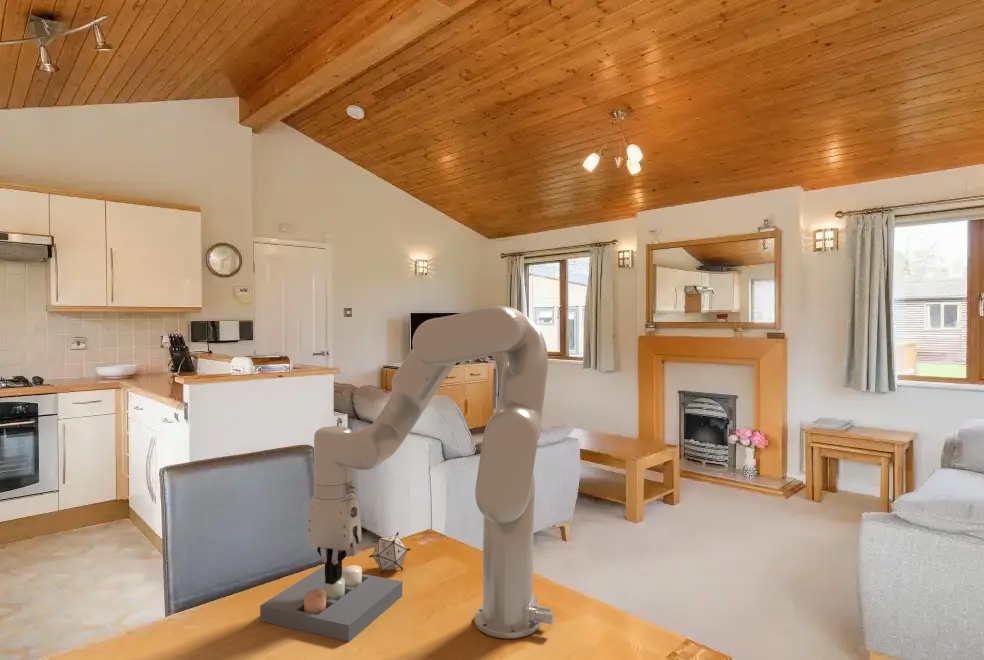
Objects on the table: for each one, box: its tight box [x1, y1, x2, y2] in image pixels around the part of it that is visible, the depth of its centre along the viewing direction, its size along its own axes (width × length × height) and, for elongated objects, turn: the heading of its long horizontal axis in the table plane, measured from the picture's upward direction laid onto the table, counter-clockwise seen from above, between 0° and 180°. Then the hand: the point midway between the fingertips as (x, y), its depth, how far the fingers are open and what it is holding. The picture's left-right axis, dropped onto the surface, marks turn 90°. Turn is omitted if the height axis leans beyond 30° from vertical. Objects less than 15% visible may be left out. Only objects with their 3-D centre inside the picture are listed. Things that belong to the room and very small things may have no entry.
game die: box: [368, 531, 412, 575], centre depth 137 cm, size 9×8×10 cm
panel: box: [259, 566, 403, 643], centre depth 119 cm, size 20×19×3 cm
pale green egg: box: [324, 577, 345, 601], centre depth 119 cm, size 4×4×5 cm
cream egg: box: [342, 564, 363, 587], centre depth 125 cm, size 4×4×5 cm
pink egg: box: [304, 589, 326, 615], centre depth 113 cm, size 4×4×5 cm
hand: (333, 581), depth 119 cm, fingers closed
